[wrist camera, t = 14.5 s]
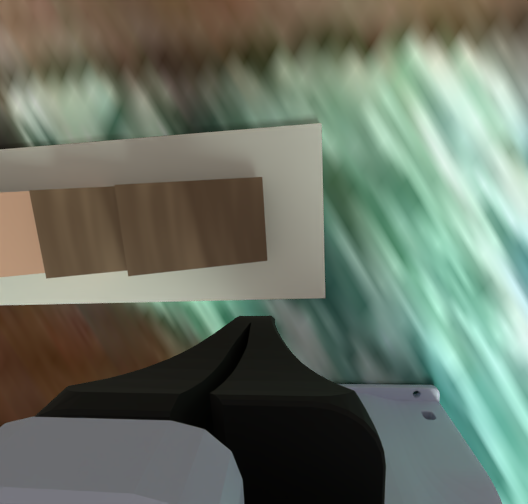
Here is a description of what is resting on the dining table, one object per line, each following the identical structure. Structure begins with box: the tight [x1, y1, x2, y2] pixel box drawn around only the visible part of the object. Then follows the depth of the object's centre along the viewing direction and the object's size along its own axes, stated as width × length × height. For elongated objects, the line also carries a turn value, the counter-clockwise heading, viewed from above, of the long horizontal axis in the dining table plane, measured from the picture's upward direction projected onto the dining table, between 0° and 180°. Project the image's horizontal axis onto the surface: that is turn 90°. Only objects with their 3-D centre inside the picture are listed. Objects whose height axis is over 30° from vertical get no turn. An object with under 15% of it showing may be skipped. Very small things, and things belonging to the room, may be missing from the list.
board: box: [0, 123, 325, 305], centre depth 21 cm, size 25×11×1 cm, turn 94°
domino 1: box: [0, 191, 45, 277], centre depth 20 cm, size 2×5×8 cm
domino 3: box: [114, 177, 267, 276], centre depth 18 cm, size 2×5×8 cm
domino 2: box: [29, 186, 127, 279], centre depth 19 cm, size 2×5×8 cm
